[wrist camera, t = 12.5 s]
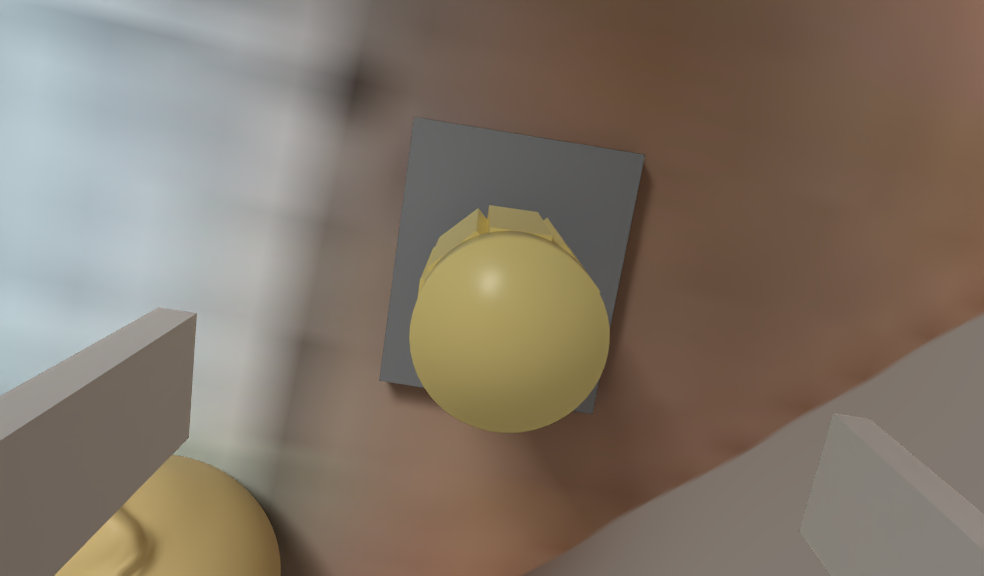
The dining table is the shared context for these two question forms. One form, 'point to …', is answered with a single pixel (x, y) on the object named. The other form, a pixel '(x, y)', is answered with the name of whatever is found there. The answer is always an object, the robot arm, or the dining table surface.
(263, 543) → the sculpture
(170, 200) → the dining table surface
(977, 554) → the robot arm
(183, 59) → the dining table surface
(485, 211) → the grey plate with rod
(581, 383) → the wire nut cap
